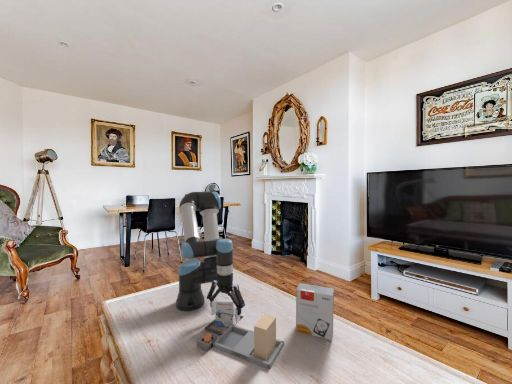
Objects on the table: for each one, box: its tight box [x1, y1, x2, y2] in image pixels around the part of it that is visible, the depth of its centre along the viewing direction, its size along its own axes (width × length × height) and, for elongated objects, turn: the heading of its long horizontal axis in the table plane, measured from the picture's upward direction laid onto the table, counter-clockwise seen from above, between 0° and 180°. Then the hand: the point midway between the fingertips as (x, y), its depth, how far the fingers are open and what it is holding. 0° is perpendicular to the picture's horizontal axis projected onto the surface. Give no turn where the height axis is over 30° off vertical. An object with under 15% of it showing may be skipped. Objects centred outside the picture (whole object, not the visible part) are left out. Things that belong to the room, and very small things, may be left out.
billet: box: [253, 313, 277, 361], centre depth 92 cm, size 5×9×12 cm, turn 152°
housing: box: [196, 332, 219, 352], centre depth 98 cm, size 6×6×2 cm
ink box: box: [215, 296, 236, 328], centre depth 113 cm, size 9×5×12 cm, turn 84°
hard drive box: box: [295, 282, 335, 342], centre depth 105 cm, size 16×8×20 cm, turn 68°
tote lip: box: [203, 314, 245, 336], centre depth 113 cm, size 12×16×1 cm
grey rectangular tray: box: [212, 324, 285, 370], centre depth 96 cm, size 25×14×2 cm, turn 62°
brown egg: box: [203, 333, 212, 343], centre depth 98 cm, size 3×3×4 cm
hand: (225, 317), depth 113 cm, fingers open, 13 cm apart
